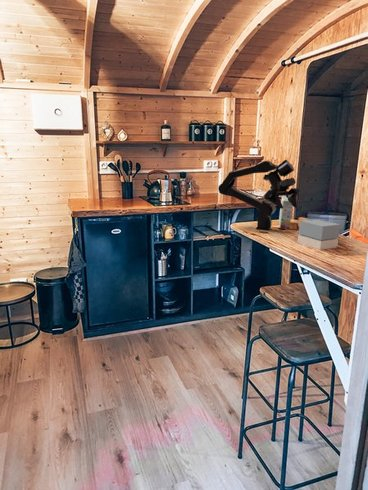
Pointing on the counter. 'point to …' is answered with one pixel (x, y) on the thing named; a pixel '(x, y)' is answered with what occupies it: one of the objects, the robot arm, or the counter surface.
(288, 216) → the snack box
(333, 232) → the grey boxy piece
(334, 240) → the carton base
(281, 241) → the counter surface
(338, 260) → the counter surface
